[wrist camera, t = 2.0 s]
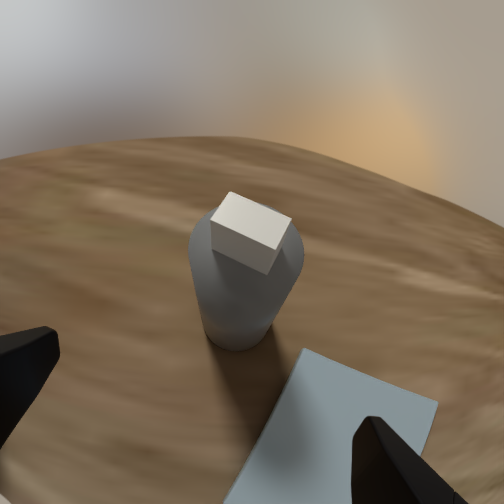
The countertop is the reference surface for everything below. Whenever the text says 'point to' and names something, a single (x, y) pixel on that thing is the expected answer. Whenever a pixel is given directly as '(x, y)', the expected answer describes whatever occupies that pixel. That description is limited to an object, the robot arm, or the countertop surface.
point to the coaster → (323, 433)
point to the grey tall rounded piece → (243, 269)
